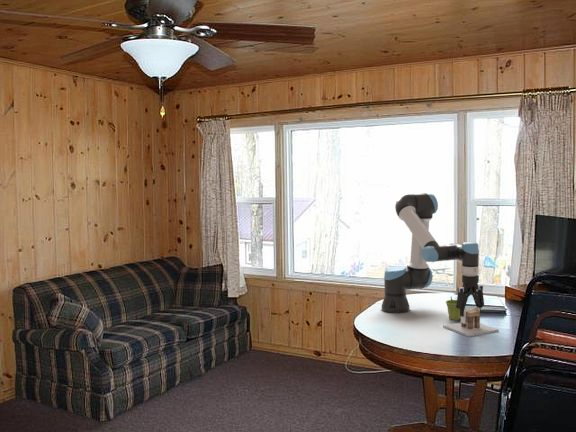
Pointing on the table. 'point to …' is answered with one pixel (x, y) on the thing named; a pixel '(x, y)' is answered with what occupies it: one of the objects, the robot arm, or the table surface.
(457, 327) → the mat
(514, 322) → the table surface
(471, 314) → the notched wooden block
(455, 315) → the plant pot
